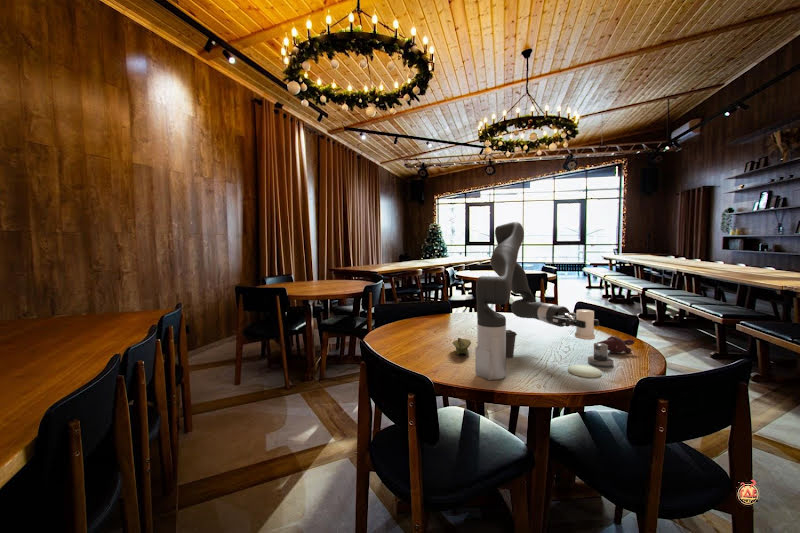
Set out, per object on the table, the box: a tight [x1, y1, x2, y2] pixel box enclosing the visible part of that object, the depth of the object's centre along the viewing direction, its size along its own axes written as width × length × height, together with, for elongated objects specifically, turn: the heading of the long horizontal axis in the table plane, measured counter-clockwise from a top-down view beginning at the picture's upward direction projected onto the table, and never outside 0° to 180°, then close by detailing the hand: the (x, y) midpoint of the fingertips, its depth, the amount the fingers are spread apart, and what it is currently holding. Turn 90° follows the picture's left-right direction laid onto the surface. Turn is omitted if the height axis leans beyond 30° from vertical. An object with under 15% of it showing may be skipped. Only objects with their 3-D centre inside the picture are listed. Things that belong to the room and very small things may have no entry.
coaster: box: [567, 364, 602, 379], centre depth 117 cm, size 10×10×1 cm
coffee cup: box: [506, 329, 518, 359], centre depth 135 cm, size 8×8×10 cm
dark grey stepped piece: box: [587, 342, 614, 368], centre depth 125 cm, size 8×8×7 cm
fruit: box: [452, 337, 472, 356], centre depth 138 cm, size 11×12×7 cm
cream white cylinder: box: [574, 308, 596, 341], centre depth 116 cm, size 6×6×9 cm
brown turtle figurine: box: [596, 335, 635, 355], centre depth 137 cm, size 7×7×15 cm
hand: (591, 324), depth 114 cm, fingers closed on cream white cylinder, 5 cm apart
